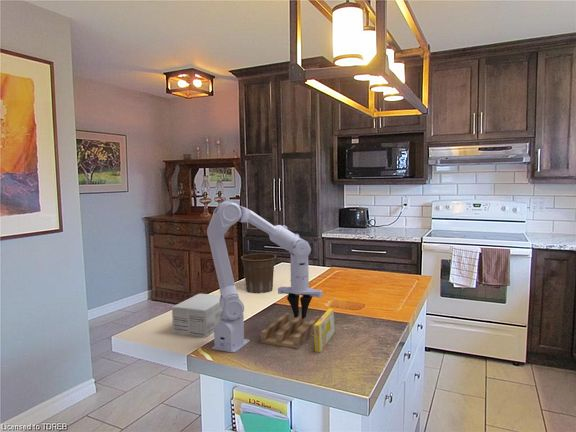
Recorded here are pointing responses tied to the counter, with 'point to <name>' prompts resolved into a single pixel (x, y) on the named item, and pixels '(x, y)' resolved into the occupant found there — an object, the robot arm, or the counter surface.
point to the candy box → (324, 330)
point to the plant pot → (258, 272)
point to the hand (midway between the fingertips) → (300, 317)
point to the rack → (288, 331)
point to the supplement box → (197, 315)
